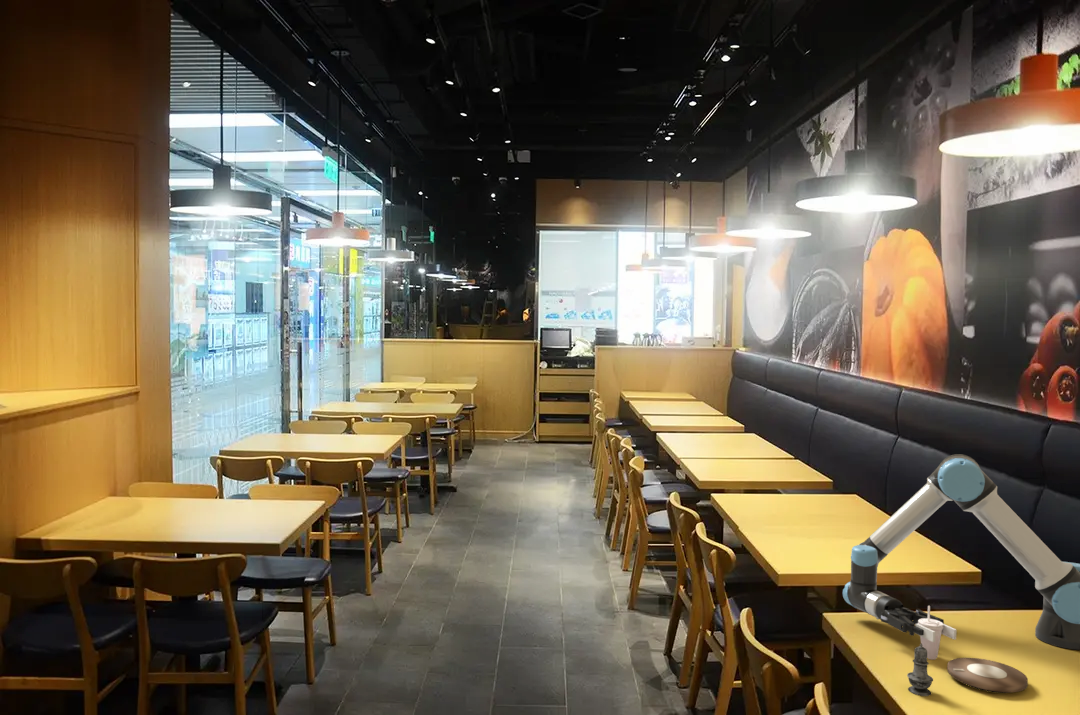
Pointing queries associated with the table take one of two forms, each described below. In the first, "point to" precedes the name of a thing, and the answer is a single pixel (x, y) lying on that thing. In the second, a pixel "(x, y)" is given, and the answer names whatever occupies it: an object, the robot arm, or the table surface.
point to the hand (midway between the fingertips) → (944, 635)
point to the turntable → (987, 674)
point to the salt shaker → (920, 673)
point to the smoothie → (937, 627)
